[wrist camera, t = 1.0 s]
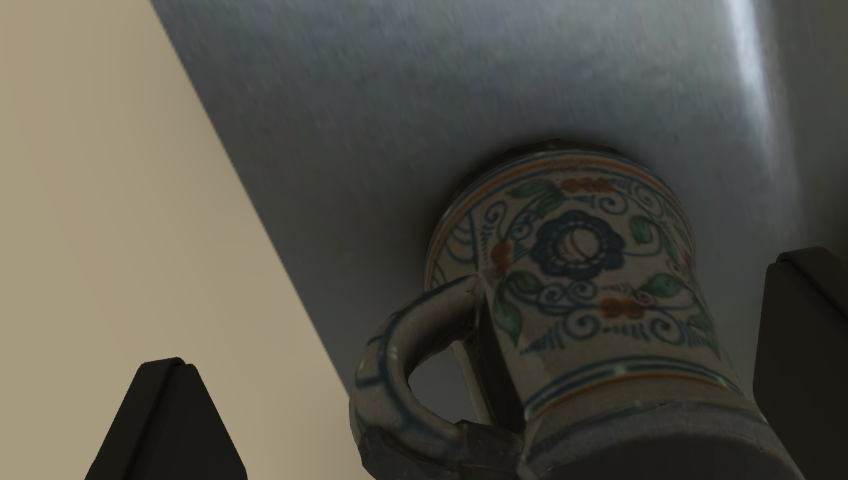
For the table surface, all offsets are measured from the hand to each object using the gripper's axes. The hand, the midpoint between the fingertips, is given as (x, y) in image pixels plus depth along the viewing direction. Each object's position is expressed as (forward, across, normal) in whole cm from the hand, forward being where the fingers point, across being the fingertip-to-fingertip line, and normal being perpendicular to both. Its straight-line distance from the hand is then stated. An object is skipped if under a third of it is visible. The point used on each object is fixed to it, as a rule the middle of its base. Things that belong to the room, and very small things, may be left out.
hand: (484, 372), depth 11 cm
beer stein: (+28, -4, +16) cm, 32 cm away
